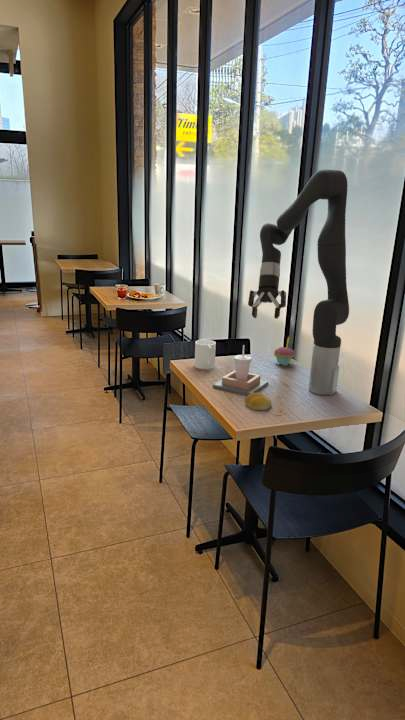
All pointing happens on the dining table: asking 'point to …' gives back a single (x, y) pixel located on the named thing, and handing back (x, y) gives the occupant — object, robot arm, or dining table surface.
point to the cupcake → (284, 354)
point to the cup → (205, 354)
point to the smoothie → (242, 366)
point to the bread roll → (258, 401)
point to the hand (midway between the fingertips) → (265, 318)
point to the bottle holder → (241, 384)
